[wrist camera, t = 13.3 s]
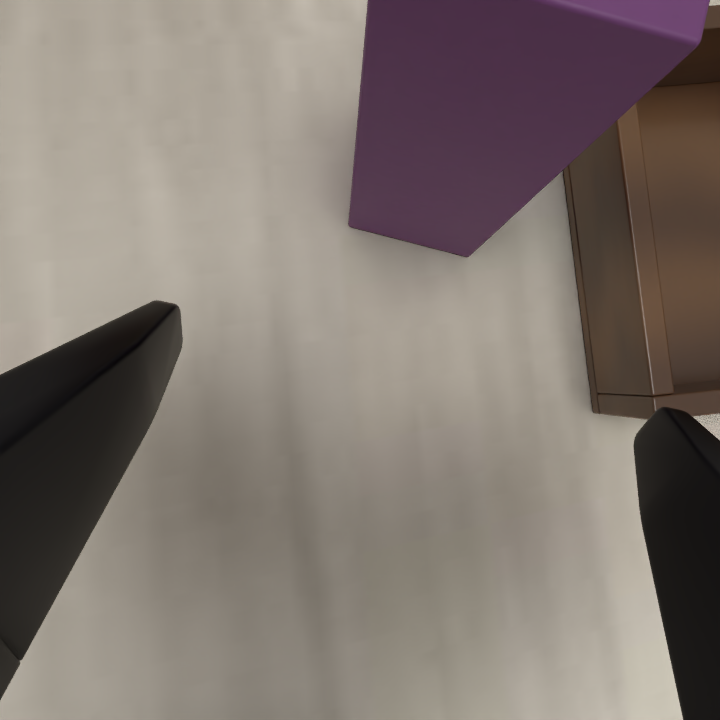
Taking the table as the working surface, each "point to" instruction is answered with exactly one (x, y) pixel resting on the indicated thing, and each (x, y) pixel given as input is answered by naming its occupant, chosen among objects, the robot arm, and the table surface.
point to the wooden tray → (653, 244)
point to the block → (495, 103)
